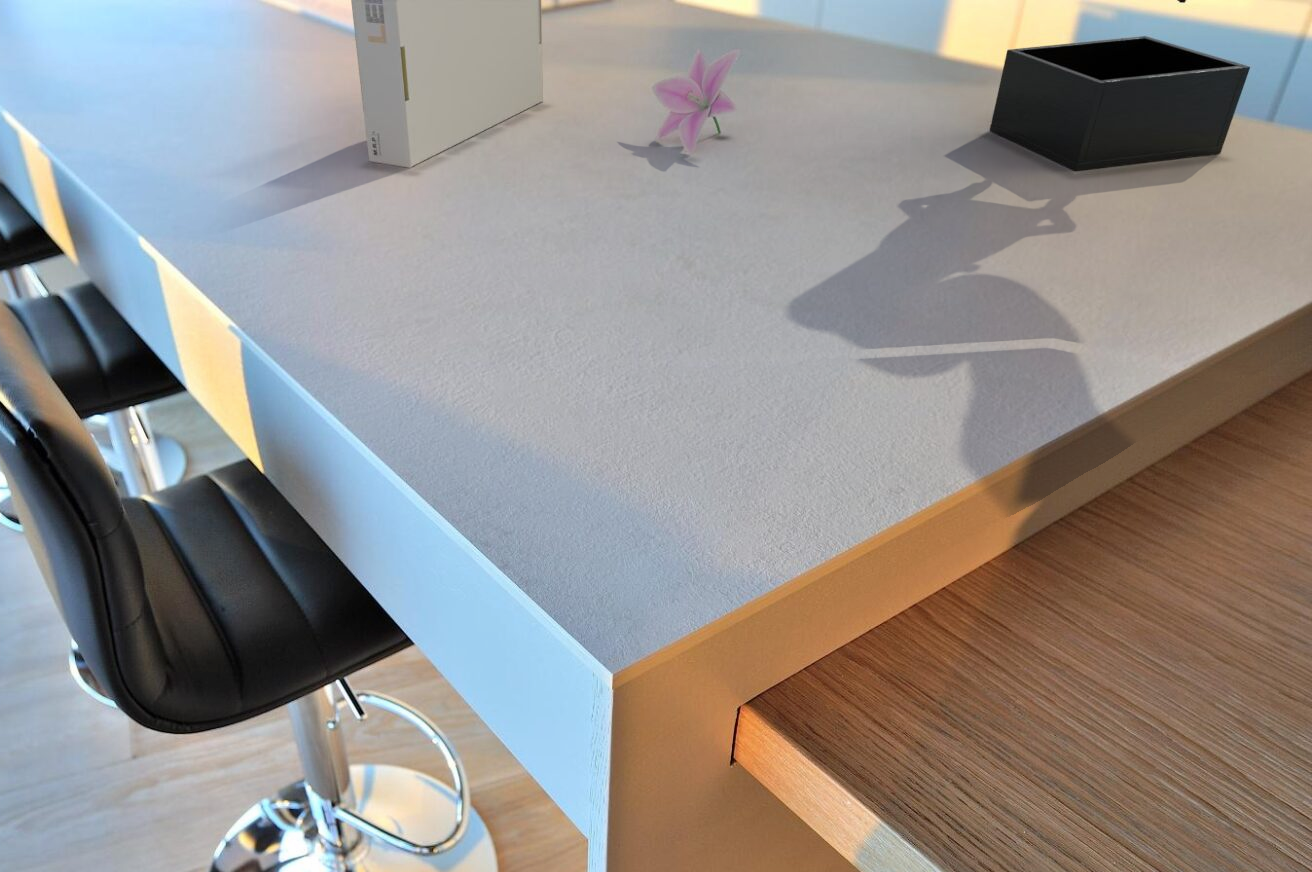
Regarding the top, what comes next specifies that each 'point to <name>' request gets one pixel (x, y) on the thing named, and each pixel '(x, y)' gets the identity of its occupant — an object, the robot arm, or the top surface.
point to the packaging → (443, 71)
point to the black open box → (1117, 101)
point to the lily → (695, 97)
